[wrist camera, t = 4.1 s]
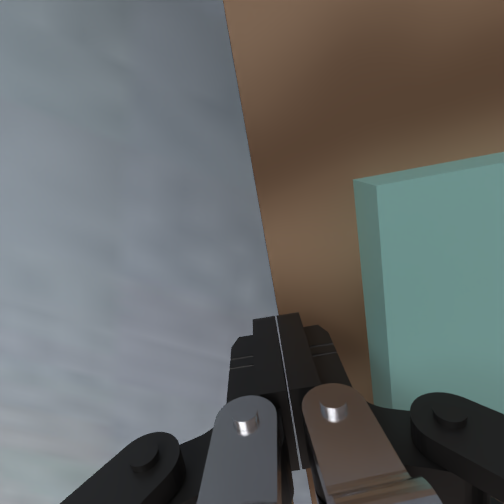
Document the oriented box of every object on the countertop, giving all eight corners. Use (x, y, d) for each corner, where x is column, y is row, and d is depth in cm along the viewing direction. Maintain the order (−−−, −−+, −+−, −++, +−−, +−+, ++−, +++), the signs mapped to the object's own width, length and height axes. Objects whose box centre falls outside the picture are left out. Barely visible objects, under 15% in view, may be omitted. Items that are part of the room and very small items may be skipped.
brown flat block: (225, 12, 12) (214, -51, 9) (610, -70, 12) (782, -176, 8) (304, 459, 19) (318, 538, 15) (558, 421, 18) (641, 494, 14)
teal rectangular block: (352, 179, 10) (375, 185, 8) (549, 142, 10) (619, 141, 8) (374, 412, 13) (396, 457, 11) (531, 387, 13) (582, 430, 11)
